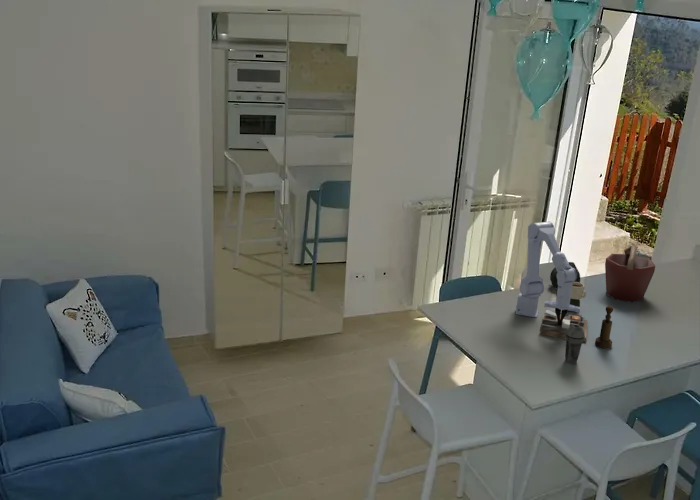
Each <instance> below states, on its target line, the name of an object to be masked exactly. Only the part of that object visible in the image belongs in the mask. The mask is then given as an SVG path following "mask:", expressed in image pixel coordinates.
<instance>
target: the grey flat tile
mask: <svg viewBox="0 0 700 500" xmlns="http://www.w3.org/2000/svg"><path fill="white" fill-rule="evenodd" d="M544 313H545V315H548V316H551V317H554V318H556V317H557V316H556V313H555V311H552V310H549V309H546V310H545V311H544Z"/></svg>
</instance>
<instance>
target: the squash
mask: <svg viewBox="0 0 700 500" xmlns="http://www.w3.org/2000/svg"><path fill="white" fill-rule="evenodd" d="M568 263H569V265H570V266H572V268H574V269H575V270H576V273H577V279H576V280H575V281H573V282H579V283H581V273H580V271H579V269H578V268H577V266H576V263H575V262H572V261H568ZM557 273H558V272H557V270H556V268H555V267H553V269H552V270H551V271H550V274H549V275H550V276H549V279H550V282H551V286H552V288H554V289H556V290H558V283H557V282H558V280H557Z"/></svg>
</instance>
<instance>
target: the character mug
mask: <svg viewBox="0 0 700 500" xmlns="http://www.w3.org/2000/svg"><path fill="white" fill-rule="evenodd" d="M586 297H587V291H585V284H584V283H582V282H580V283H579V282H573V285H572V291H571V298H570V305H573V306H577V307H580V308H581V299H585V298H586Z"/></svg>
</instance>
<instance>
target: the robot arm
mask: <svg viewBox="0 0 700 500" xmlns="http://www.w3.org/2000/svg"><path fill="white" fill-rule="evenodd" d="M555 235H556V228H555V225H554V223H553V222H552V221H542V222H532V223H530V224H529V225H528V226H527V261H526V265H527V266H526V274H525V275H524V276H523V277H522V278H520V279H521V282H520V284H519V292H520V293H518V296H517V301H516V305H515V315H518V316H519V315H520V316H525V317H530V318H531V317H532V318H537V317H538V314H539V310H538V306H539V301H540V300H539V299H540V297H541V294H542V295H543V293H544V291H545V285H544V278H543V277H542V276H540V261H541V260H540V258H541V242H542V241H543V242H545V244H546V246H547V247H548V250H549V252H550V253H551V255H552V257H551V260H552V263H553V265H554V268H556V270H557V272H558V273H557V280H558V282H557V283H558V289H556V290H557V291H556V292H557V293H556V297H555V298H556V299H555V301H544V306H543V307H544V308H552V309H554V312H555V313H556V316H557V320H558V325H560V326H561V323H562V321H563V319H564V317H565V316H567V315H568V313H569V312H576V313H577V314H578V313H580V311H581V310H580V309H581V306H580V307H577V306H573V305H570V298H571V291H572V285H573V281H575V280H576V279H577V273H576V270H575V269H574V268H572V266H570V265H569V263H568V262H569V260H568V259H567V256H566V255H565V253H564V252H561V250H560V248H559V247H560V246H559V245H558V242H557V239H556V237H555ZM560 315H561V319H560Z"/></svg>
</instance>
